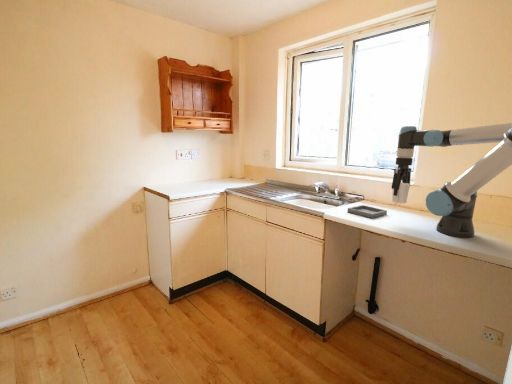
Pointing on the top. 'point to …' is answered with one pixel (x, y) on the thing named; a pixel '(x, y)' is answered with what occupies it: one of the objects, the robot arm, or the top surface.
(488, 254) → the top surface
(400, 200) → the white cup
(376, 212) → the tray
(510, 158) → the robot arm
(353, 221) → the top surface
